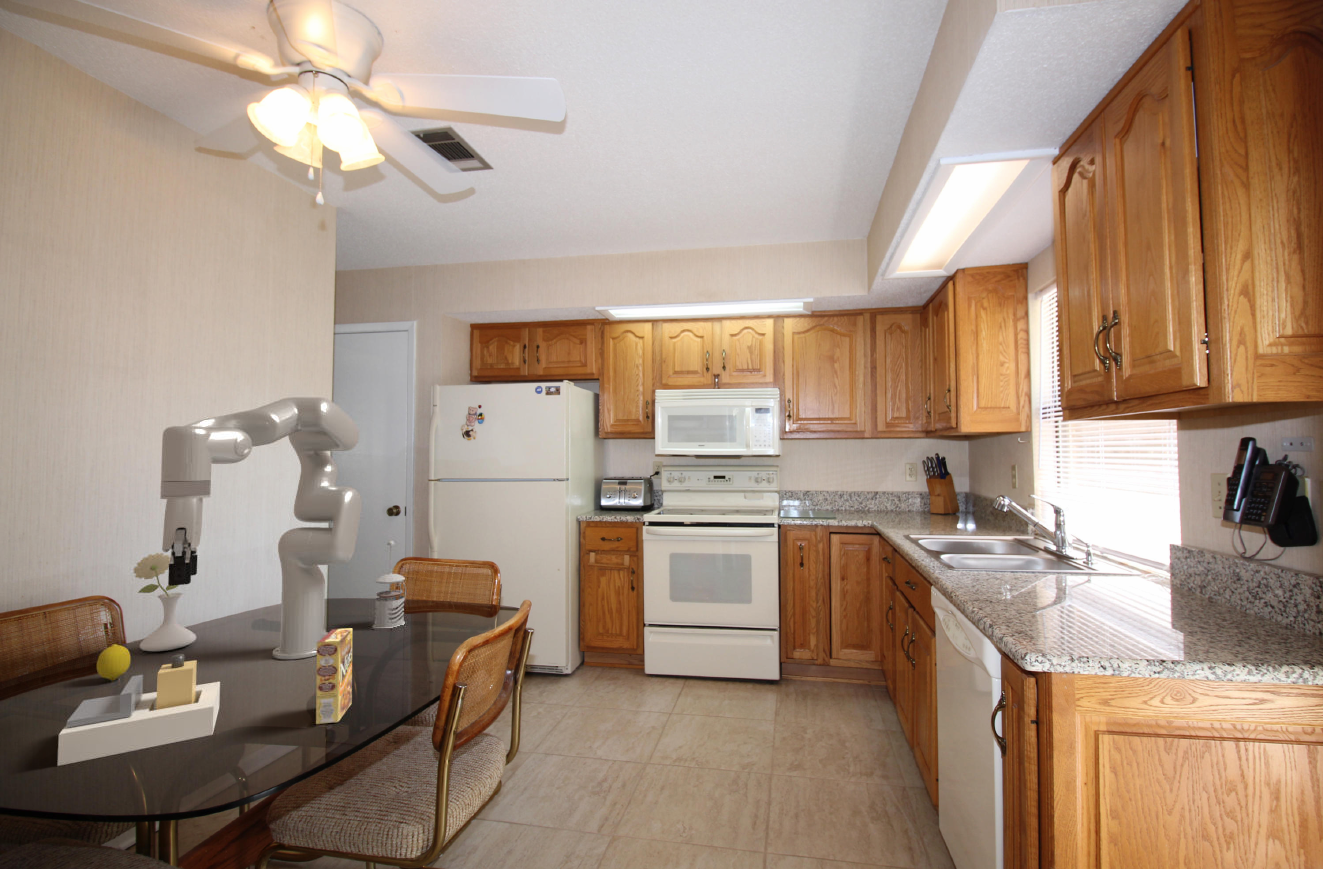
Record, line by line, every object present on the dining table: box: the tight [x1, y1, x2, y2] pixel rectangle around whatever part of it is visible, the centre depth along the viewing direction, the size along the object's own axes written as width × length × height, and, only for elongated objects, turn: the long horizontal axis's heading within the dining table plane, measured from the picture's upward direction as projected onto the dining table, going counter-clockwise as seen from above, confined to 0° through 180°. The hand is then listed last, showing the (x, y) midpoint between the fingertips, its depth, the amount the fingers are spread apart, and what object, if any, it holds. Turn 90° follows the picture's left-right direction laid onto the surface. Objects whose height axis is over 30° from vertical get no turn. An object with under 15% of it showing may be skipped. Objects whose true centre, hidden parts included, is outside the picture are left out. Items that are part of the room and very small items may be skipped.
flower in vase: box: [133, 552, 197, 652], centre depth 154 cm, size 13×11×25 cm
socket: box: [57, 681, 221, 767], centre depth 107 cm, size 20×14×5 cm
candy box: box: [315, 627, 353, 725], centre depth 115 cm, size 9×4×15 cm, turn 13°
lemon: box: [96, 643, 131, 682], centre depth 132 cm, size 6×6×8 cm
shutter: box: [66, 674, 144, 728], centre depth 104 cm, size 8×10×4 cm
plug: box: [156, 653, 198, 710], centre depth 109 cm, size 5×5×12 cm
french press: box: [372, 540, 407, 628], centre depth 176 cm, size 10×12×25 cm
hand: (183, 580), depth 113 cm, fingers open, 9 cm apart
